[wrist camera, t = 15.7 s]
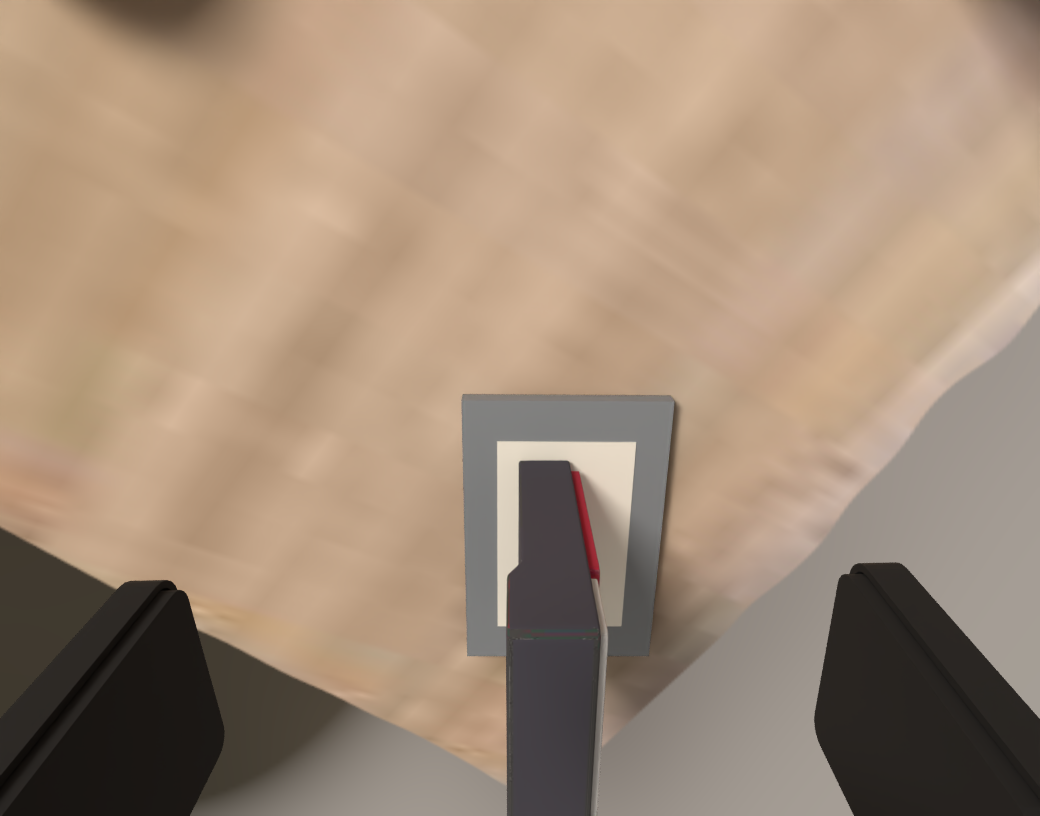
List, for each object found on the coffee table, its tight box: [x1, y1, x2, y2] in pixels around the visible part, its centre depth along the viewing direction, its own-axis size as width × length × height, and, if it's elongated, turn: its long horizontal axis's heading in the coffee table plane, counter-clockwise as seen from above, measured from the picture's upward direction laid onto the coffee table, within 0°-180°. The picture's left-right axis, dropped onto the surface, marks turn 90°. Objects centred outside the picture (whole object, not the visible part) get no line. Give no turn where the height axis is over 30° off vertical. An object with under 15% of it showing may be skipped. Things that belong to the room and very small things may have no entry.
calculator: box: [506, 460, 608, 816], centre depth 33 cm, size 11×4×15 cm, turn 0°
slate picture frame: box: [462, 394, 674, 656], centre depth 41 cm, size 12×18×1 cm, turn 179°
